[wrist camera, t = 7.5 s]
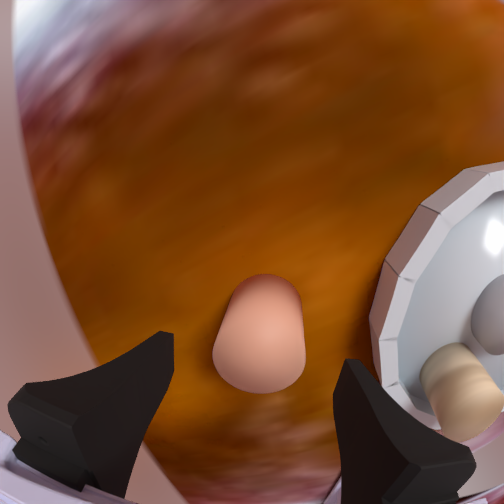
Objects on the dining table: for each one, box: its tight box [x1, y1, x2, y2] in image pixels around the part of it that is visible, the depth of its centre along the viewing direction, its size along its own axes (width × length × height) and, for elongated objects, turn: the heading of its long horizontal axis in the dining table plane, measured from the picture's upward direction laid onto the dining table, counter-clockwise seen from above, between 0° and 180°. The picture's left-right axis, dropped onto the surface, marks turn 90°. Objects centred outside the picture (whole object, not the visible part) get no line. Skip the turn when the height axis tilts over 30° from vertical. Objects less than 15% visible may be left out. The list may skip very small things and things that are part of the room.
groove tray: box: [369, 162, 504, 430], centre depth 15 cm, size 18×18×2 cm
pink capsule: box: [212, 274, 306, 393], centre depth 16 cm, size 4×4×5 cm
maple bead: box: [419, 342, 504, 443], centre depth 15 cm, size 4×4×5 cm
